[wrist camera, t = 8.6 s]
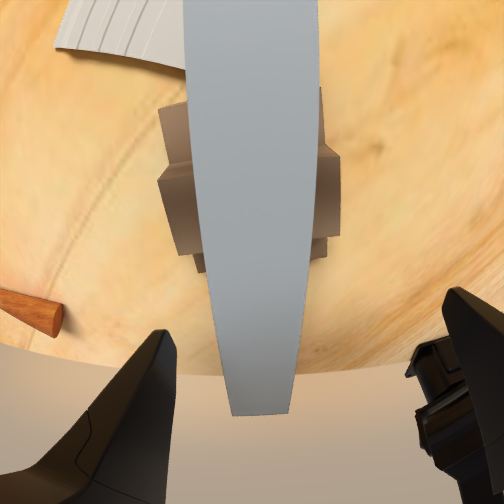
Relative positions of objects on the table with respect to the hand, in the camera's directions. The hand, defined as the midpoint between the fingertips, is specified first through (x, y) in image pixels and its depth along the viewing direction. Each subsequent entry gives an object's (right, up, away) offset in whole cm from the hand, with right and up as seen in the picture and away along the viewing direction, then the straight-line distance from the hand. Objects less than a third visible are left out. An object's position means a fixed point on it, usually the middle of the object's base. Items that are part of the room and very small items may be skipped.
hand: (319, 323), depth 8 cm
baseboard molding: (-4, +26, -3) cm, 26 cm away
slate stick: (-2, +4, +5) cm, 7 cm away
